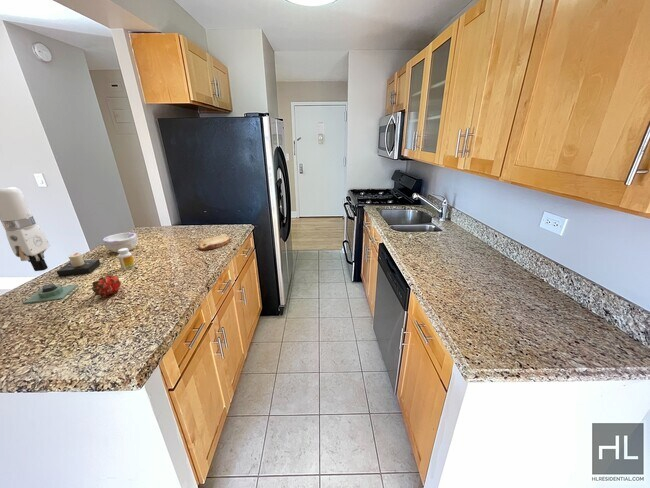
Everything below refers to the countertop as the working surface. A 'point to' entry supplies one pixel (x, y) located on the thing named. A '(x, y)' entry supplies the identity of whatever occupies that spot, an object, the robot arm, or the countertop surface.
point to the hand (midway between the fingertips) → (41, 269)
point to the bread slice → (214, 242)
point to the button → (49, 288)
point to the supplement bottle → (125, 259)
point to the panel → (79, 268)
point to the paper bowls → (120, 241)
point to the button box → (52, 294)
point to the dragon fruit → (106, 285)
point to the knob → (76, 260)
